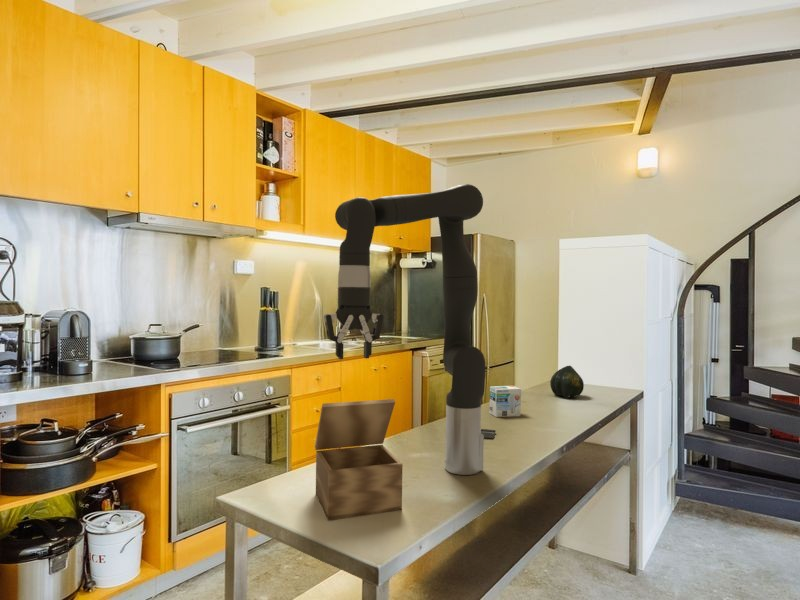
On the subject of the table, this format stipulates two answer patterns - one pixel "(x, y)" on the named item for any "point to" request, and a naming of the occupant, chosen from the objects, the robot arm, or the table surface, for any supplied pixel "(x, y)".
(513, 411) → the light bulb box
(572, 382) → the squash
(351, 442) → the lid
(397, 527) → the table surface
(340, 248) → the robot arm
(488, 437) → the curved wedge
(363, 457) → the brown wooden box
